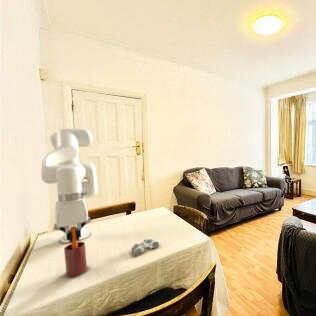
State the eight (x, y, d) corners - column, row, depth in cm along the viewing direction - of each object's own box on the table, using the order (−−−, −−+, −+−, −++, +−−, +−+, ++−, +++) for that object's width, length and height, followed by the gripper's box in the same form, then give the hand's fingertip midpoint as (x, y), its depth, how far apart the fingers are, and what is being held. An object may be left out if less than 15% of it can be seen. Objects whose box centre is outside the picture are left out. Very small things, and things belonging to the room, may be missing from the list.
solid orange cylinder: (72, 254, 84) (70, 227, 83) (78, 253, 85) (75, 225, 84) (72, 256, 83) (70, 228, 82) (78, 254, 84) (76, 227, 83)
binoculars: (135, 256, 96) (134, 249, 96) (128, 250, 101) (128, 243, 101) (159, 246, 105) (158, 239, 105) (151, 241, 110) (151, 235, 110)
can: (66, 271, 85) (63, 245, 84) (85, 264, 90) (83, 240, 89) (66, 279, 80) (64, 252, 79) (87, 272, 85) (85, 246, 84)
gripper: (93, 191, 90) (95, 231, 92) (44, 198, 79) (48, 243, 81) (95, 194, 84) (98, 237, 86) (43, 203, 74) (48, 250, 75)
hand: (74, 239), depth 84 cm, fingers closed on solid orange cylinder, 1 cm apart
